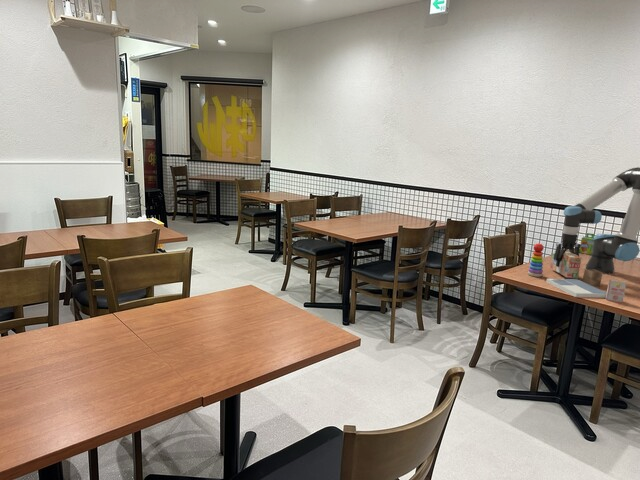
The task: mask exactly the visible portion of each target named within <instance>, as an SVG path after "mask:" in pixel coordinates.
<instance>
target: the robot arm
mask: <svg viewBox="0 0 640 480" xmlns="http://www.w3.org/2000/svg"><path fill="white" fill-rule="evenodd" d="M628 189H631V191H632V192H633V193H632V197H631V200H630V202H629V205H628V208H627V210H626V214H625V215H624V219H623V221H622V224H621V227H620V229H619V232H618V233H616V234H613V233H612V234H608V233H596V234H594V238H595V239H594V243H593V249H592V254H591V255H590V258H589V260H588V261H587V263H586V265H585V269H595V270H598V271H600V272H603V274H614V273H615V265H614V259H616V260H617V261H622V262H630V261H632V260H634V259H636V258H637V257H638V256H639V253H640V247H639V245H638V242H639V240H638V238H637V236H638V233H639V231H640V166H638V167H632V168H629V169H626V170H625V171H622V172H621V173H619V174H618V175H616V176H614V177H613V178H612V180H611V181H610V182H609V183H606V185H604V186H602V187H601V188H600V189H598V190H597V191H595V192H594V193H592V194H591V195H589V196H588V197H586V198H584V199H583V200H581V201H580V202H578V203H576V204H575V205H573V206H572V205H570V206H567V207H565V208H564V210H563V215H564V224H563V229H562V232H563V233H562V236H561V240H562V241H560V242H557V243H556V245H555V246H556V247H555V251H554V253H555V255H554V260H556V266H557V268H556V271H555V272H557V273H559V274H560V271H561V264H562V262H561V259H562V257H563V253H565V252H570V253H573V254H575V255H578V256H579V257H580V253H579V249H580V246H581V243H577V241H578V234H579V229H580V224H588V225H589V224H590V225H591V224H592V225H594V224H599V223H600V222H601V221H602V217H603V216H602V213H601V212H600V211H599V210H594V209H595V208H597V207H599V206H600V205H602V204H603V203H604V202H606V201H607V200H609V199H611V198H612V197H614V196H615V195H617V194H618V193H620V192H624V191H627V190H628Z"/></svg>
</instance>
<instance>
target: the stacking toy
mask: <svg viewBox="0 0 640 480" xmlns="http://www.w3.org/2000/svg"><path fill="white" fill-rule="evenodd" d="M533 250H534V251H533V252H532V255H531V258H530V260H531V261H530V262H529V263H530V264H529V265H528V266H529V268H528V269H527V270H528V271H527V275H528V276H531V277H536V278H541V277H543V275H544V274H543V272H544V270H543V268H544V266H543V265H544V263H543V261H544V260H543V258H544V257H543V251H544V245H543V244H542V243H536V244H534V245H533Z"/></svg>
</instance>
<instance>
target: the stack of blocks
mask: <svg viewBox="0 0 640 480" xmlns="http://www.w3.org/2000/svg"><path fill="white" fill-rule="evenodd" d="M554 255H555V252H552V253H551V262H550V268H551V269H553V270H554V271H555V272H556V268H557V266H556V260H554ZM561 262H562V264H561V271H560V273H559V274H560V275H561V276H562V277H564V278H565V279H578V278H579V274H580V268H581V262H582V257H581V256H580V255H579V256H578V255H575V254H573V253H570V251H565V253H563V257H562V259H561Z"/></svg>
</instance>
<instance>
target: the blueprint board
mask: <svg viewBox="0 0 640 480" xmlns="http://www.w3.org/2000/svg"><path fill="white" fill-rule="evenodd" d="M582 281H583V280H580V279H578V278H546V281H545V282H546V283H547V284H549V285H551V286H553V287H555V288H557V289H558V290H561V291H563V292H565V293H567V294H568V295H571V296H573V297H574V298H599V299H601V298H605V299H606V293H607V291H604V290H602V289H599V288H598V287H593V286H591V285H589V284H586V283H584V282H582Z"/></svg>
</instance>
